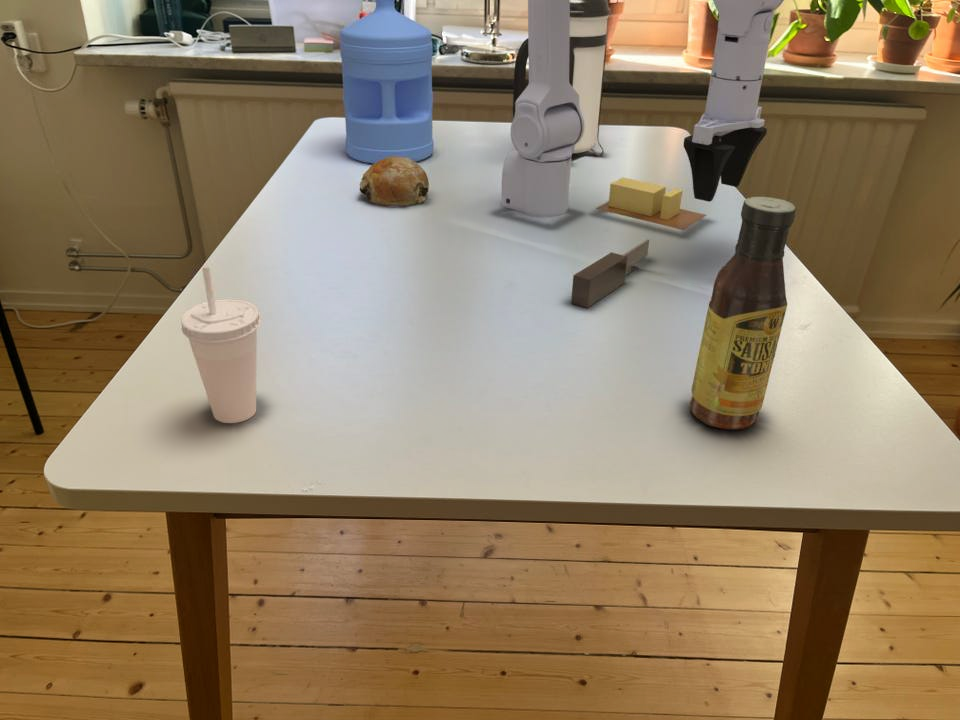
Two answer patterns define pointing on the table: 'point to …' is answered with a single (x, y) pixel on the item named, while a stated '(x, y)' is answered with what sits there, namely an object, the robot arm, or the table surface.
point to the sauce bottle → (744, 319)
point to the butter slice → (671, 204)
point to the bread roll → (395, 182)
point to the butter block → (636, 196)
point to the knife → (605, 275)
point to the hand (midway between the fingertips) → (716, 192)
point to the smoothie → (225, 352)
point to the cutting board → (678, 221)
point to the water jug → (387, 86)
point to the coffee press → (580, 65)
